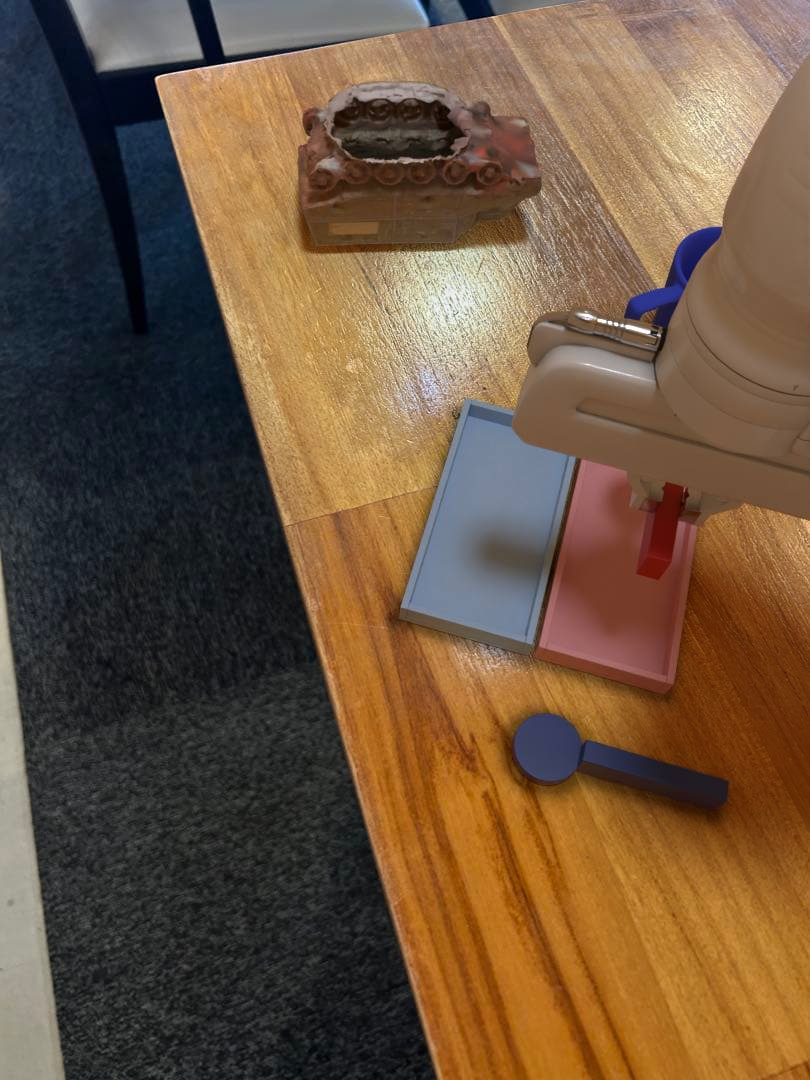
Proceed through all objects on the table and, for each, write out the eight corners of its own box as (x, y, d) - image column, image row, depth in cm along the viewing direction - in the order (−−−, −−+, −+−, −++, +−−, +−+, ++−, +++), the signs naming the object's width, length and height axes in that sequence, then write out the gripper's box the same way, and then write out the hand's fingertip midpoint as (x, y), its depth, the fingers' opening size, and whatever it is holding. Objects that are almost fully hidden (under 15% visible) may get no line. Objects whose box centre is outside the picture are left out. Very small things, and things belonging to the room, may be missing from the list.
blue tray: (576, 443, 72) (582, 428, 71) (527, 656, 64) (532, 644, 62) (462, 412, 73) (465, 397, 71) (398, 619, 65) (400, 607, 63)
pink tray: (698, 475, 72) (707, 461, 70) (664, 695, 63) (673, 685, 61) (582, 444, 72) (588, 429, 71) (533, 657, 64) (538, 646, 62)
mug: (577, 345, 77) (608, 254, 68) (703, 306, 80) (748, 214, 71) (627, 423, 74) (666, 339, 65) (756, 379, 76) (811, 292, 68)
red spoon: (684, 588, 55) (698, 570, 53) (610, 567, 55) (621, 548, 53) (712, 410, 61) (726, 387, 59) (645, 392, 62) (656, 369, 59)
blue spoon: (718, 767, 61) (732, 757, 59) (710, 834, 59) (724, 826, 57) (519, 709, 62) (525, 697, 60) (504, 774, 60) (510, 764, 58)
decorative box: (303, 147, 86) (299, 47, 77) (523, 161, 87) (544, 64, 78) (292, 255, 80) (287, 159, 71) (530, 269, 80) (553, 177, 72)
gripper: (524, 350, 43) (481, 504, 55) (983, 471, 41) (834, 601, 53) (552, 251, 46) (505, 418, 58) (981, 361, 44) (840, 508, 56)
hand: (666, 507), depth 56 cm, fingers closed on red spoon, 1 cm apart
